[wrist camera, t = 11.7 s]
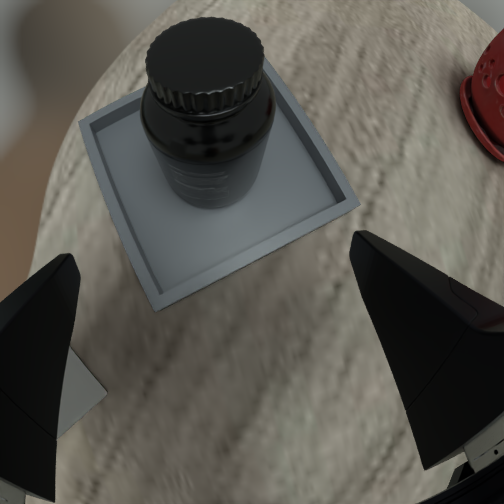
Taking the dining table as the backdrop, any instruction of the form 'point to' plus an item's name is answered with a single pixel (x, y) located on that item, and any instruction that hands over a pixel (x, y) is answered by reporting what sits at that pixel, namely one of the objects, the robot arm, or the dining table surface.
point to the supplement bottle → (208, 109)
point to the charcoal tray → (218, 218)
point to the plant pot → (487, 98)
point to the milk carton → (77, 393)
